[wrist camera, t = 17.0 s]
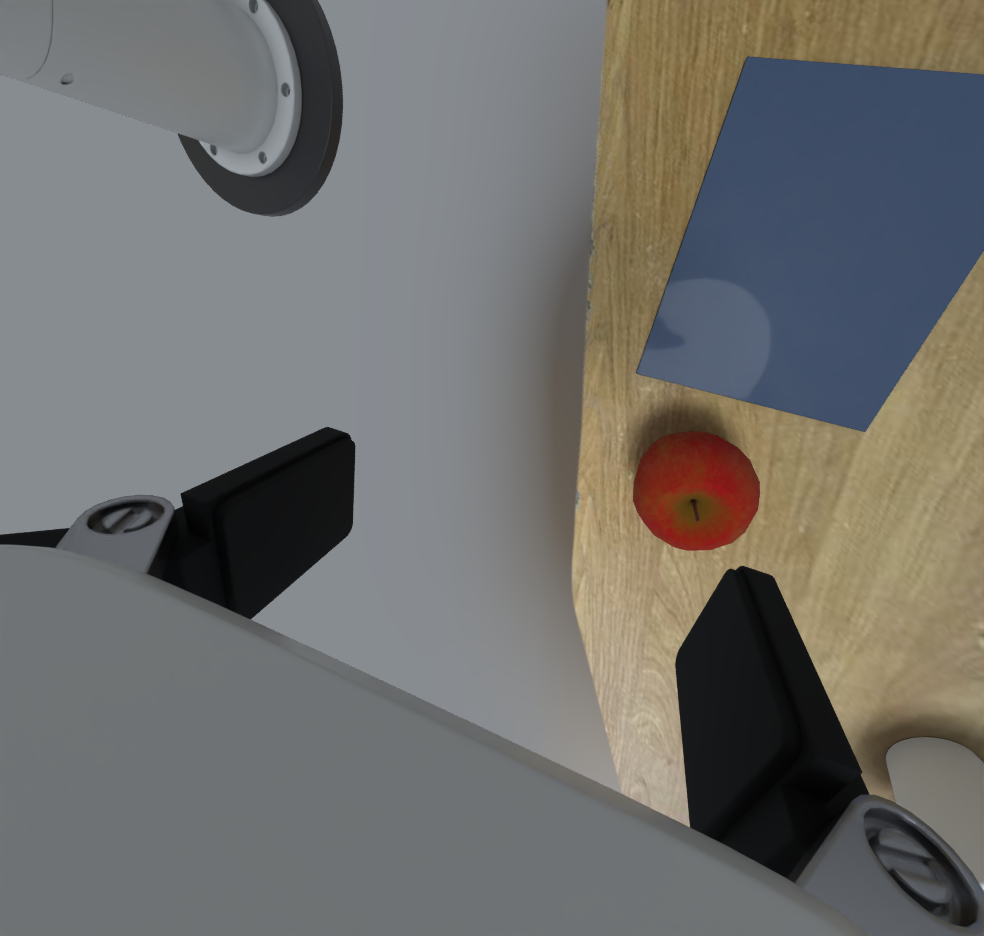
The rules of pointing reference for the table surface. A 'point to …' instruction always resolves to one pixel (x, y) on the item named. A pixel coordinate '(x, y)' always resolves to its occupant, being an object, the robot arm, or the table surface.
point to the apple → (696, 490)
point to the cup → (943, 793)
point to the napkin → (825, 237)
